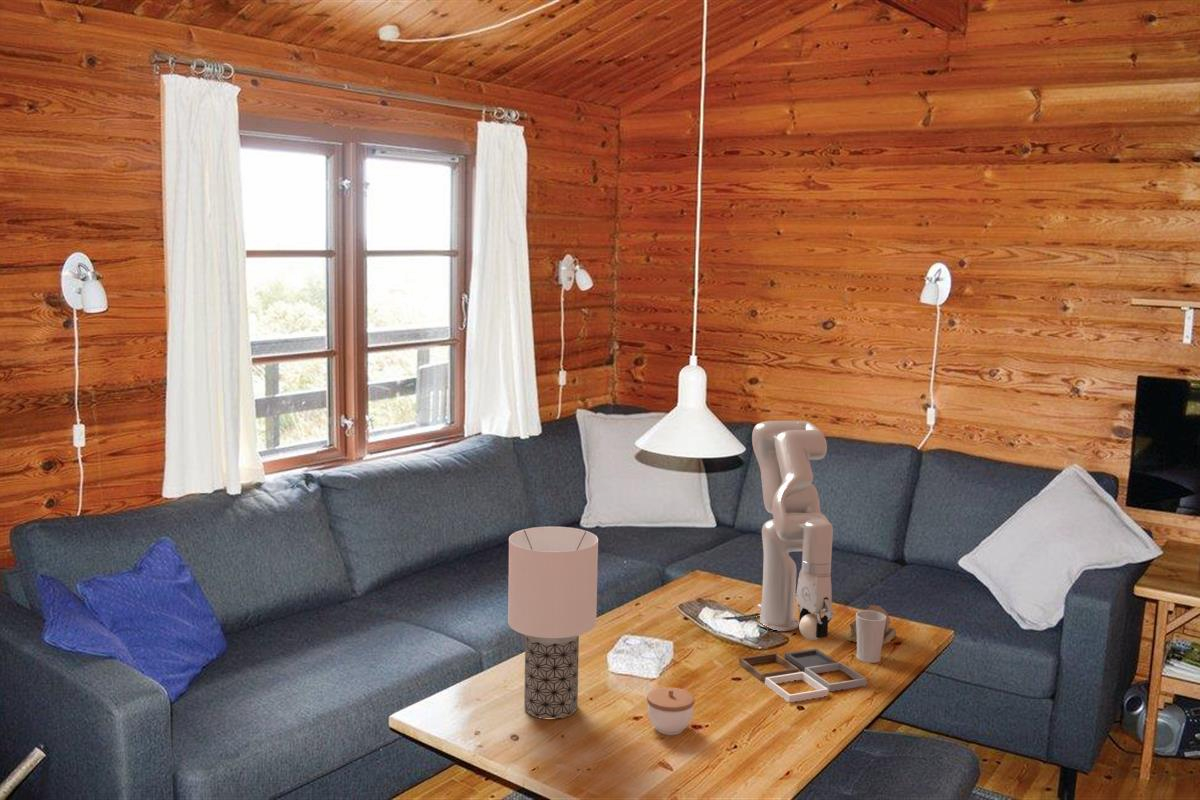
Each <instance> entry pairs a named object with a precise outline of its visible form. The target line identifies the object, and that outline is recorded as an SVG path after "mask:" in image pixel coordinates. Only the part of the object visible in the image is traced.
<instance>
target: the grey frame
mask: <svg viewBox="0 0 1200 800" xmlns="http://www.w3.org/2000/svg"><path fill="white" fill-rule="evenodd" d="M837 662H838V663H831V664H825V665H819V666H812V667H806V668H805V669H804V673H806V674H807V675H808V676H810V677H811V678H813V679H814V680H816V681H817V682H819V683H820V684H821V685H823V686H824V687H826V688H827V689H828V692H829V691H831V692H836V691H835V690H837V691H842V690H841V689H843V690H848V689H853V688H855V689H856V688H860V687H864V686H865V687H866V686H867V683H868V682H867V681H868V679H867V678H866V677H865V676H863V675H862V674H860V673H859V672H857V671H856V670H854V669H852V668H851V667H849V666H848V665H846V664H845V663H844V662H842V661H840V662H839V661H837ZM834 671H841V672H843V674H846V675H847V676H849V677H851V678H852V679H851V680H844V681H838V682H832V683H830V682H829V681H827V680H825V679H824V678H823V677H822V676H820V675H819V674H822V673H828V672H834Z"/></svg>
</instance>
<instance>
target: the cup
mask: <svg viewBox="0 0 1200 800" xmlns="http://www.w3.org/2000/svg"><path fill="white" fill-rule="evenodd" d="M855 620H856V627H857V643H856V656H855V657H857V658H856V659H857V660H858V659H859V660H858V661H860V662H863V663H869V664H870V663H871V664H872V663H873V664H874V663H879V662H880V661H881V656H882V647H883V645H882V642H883V635H884V629H885V623H886V616H885V615H884V614H882V613H880V612H876V611H869V610H866V609H864V610H859V611H857V612H856V613H855Z"/></svg>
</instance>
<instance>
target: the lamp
mask: <svg viewBox="0 0 1200 800" xmlns="http://www.w3.org/2000/svg"><path fill="white" fill-rule="evenodd" d="M598 555H599V538H598V536H597V534H594V533H593V532H590V531H588V530H584V529H581V528H576V527H567V526H536V527H530V528H529V527H528V528H525V529H521V530H518V531H514V532H513V533H512V534H510V536H509V537H508V583H507V584H508V585H507V586H508V593H507V594H508V595H507V596H508V597H507V599H508V601H507V602H508V605H507V607H508V608H507V617H508V618H507V624H508V626H509V627H510V628H511V629H512V630H513V631H515V632H516V633H519V634H521V635H524V636H525V637H524V692H523V693H524V700H523V701H524V706H523V707H524V710H525V711H526V713H527V714H528V715H530V714H531V715H530V716H532V715H534V716H536V717H535V718H537V717H541V718H561V719H563V718H562V717H565V718H567V717H566V716H568V717H569V715H570V716H571V714H572V715H574V713H575V712H576V711H577V709H578V703H579V702H578V700H579V699H578V697H579V696H578V695H579V690H578V689H579V656H580V655H579V652H580V651H579V649H580V648H579V647H580V645H579V644H580V641H579V639H580V635H584V634H586V633H589V632H590V631H592V630H593V629H594V628H595V627H596V625H597V603H598V601H597V600H598V562H599V556H598ZM534 716H533V717H534ZM541 718H540V719H541Z"/></svg>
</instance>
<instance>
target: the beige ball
mask: <svg viewBox="0 0 1200 800" xmlns="http://www.w3.org/2000/svg"><path fill="white" fill-rule="evenodd" d="M817 623H818V618H817V614H814V613H811V614H807V615H805V616H804V617H803V618H802V619H801V621H800V624H799V627H798V628H799V631H800V634H801V635H802V637H804V638H805V639H808V640H810V641H816V640H819V639H820V638H817V637H816V626H817Z"/></svg>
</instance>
